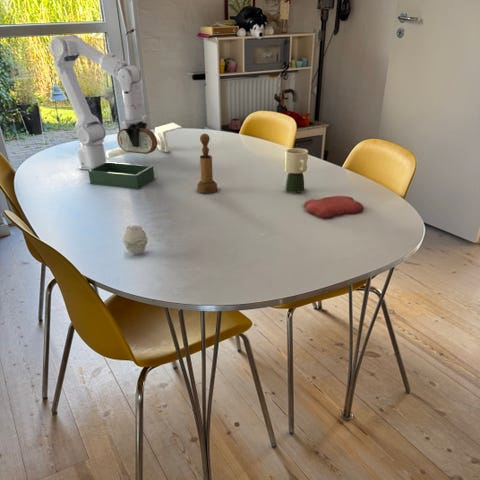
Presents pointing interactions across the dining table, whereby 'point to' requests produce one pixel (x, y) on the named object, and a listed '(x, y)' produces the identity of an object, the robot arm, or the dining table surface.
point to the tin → (145, 141)
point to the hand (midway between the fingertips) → (137, 145)
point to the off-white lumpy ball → (135, 239)
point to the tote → (121, 175)
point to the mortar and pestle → (206, 169)
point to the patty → (333, 206)
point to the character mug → (295, 168)
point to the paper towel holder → (160, 138)
